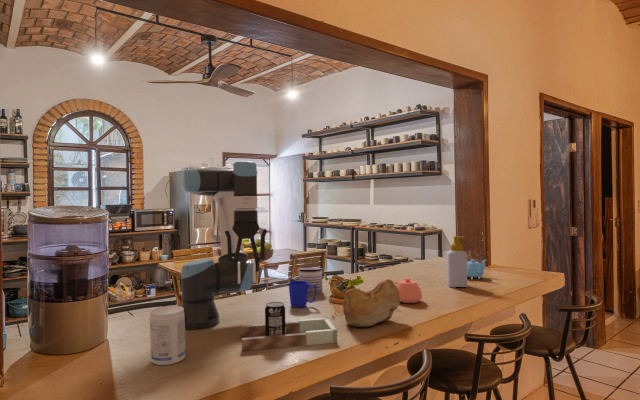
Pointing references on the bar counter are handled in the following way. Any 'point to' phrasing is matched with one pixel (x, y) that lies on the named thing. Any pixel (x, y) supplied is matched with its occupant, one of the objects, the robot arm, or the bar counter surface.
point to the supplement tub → (167, 335)
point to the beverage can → (275, 319)
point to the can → (312, 279)
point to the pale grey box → (318, 331)
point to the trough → (271, 337)
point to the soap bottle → (457, 265)
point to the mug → (300, 293)
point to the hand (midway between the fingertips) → (246, 282)
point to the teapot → (475, 268)
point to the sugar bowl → (409, 291)
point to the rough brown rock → (371, 304)
